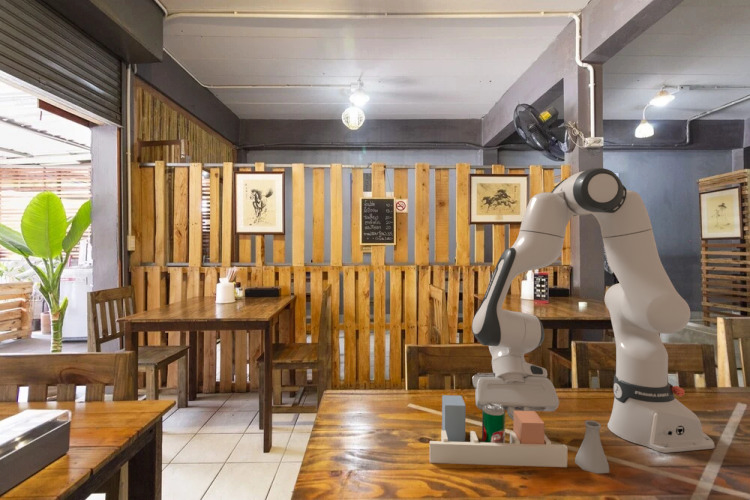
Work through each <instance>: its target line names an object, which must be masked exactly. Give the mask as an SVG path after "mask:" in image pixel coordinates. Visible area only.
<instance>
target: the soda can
mask: <svg viewBox="0 0 750 500" xmlns="http://www.w3.org/2000/svg"><path fill="white" fill-rule="evenodd" d="M481 413H482V414H481V415H482V416H481V422H482V423H481V442H484V443H506V442H505V441H506V410H504V409H503V406H502V405H500V404H497V403H486V404H484V408H483V409H481Z"/></svg>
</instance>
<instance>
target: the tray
mask: <svg viewBox="0 0 750 500" xmlns="http://www.w3.org/2000/svg"><path fill="white" fill-rule="evenodd" d="M469 432H470V433H469V436H470V437H469V440H470V441H465V442H461V441H448V438H447V434H446V430H442V429H441V431H440V435H441V437H440V439H441V440H440V441H439V440H429V463H430V464H451V465H452V464H453V465H454V464H457V465H458V464H459V465H460V464H461V465H485V466H488V465H489V466H515V467H516V466H517V467H518V466H521V467H524V466H525V467H547V468H548V467H553V468H568V447H567V445H566V444H552V441H551V440H550V439H549V437H547V435H546V433H544V444H520V441H519V439H518V437H517V436H516V434H515V432H513V431H510V432H509V443H508V442H505V443H484V442H482V441H479V438H478V436H477V434H476V431H475V430H470V431H469Z"/></svg>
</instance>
